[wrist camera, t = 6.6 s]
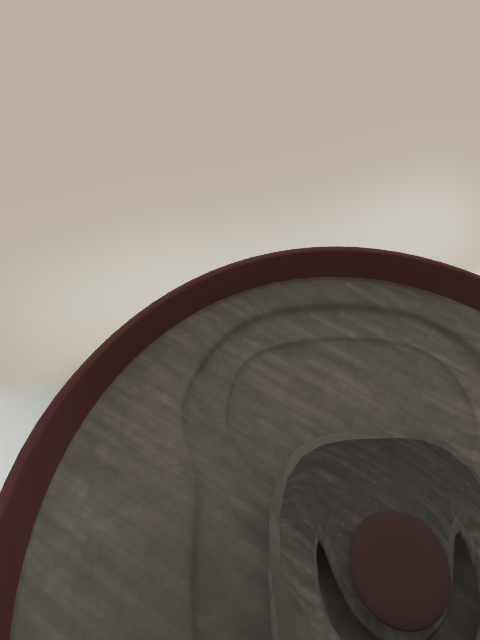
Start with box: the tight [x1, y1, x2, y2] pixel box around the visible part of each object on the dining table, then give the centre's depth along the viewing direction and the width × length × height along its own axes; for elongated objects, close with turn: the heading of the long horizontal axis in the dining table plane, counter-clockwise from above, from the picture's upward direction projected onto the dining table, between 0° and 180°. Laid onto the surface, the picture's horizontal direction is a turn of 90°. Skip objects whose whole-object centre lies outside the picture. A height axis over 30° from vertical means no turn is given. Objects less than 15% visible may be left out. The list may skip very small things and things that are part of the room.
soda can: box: [0, 247, 480, 640], centre depth 8 cm, size 7×7×12 cm
